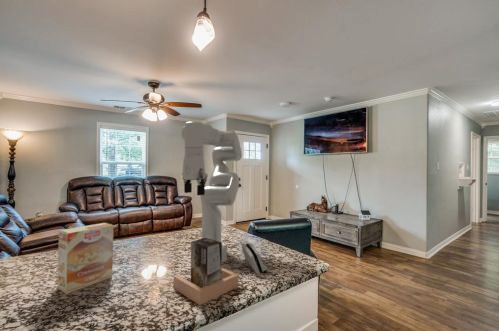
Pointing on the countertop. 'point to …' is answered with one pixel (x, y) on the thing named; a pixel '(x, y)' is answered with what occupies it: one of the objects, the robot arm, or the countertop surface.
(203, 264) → the coffee box
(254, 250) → the grey game console
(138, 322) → the countertop surface
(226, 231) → the countertop surface
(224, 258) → the light grey cube
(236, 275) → the bracket
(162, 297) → the countertop surface
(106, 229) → the coffeecake box
